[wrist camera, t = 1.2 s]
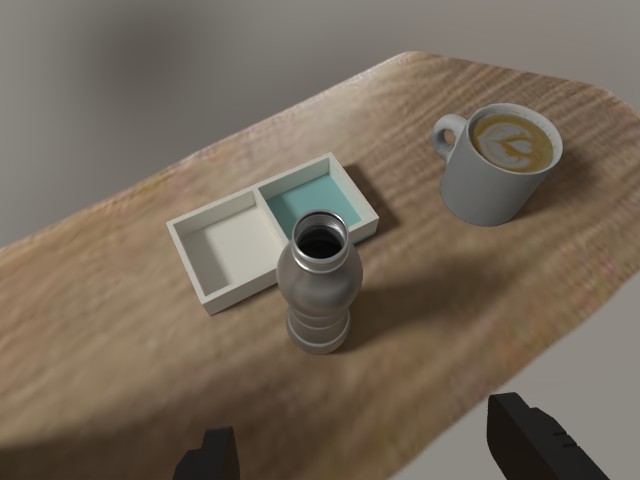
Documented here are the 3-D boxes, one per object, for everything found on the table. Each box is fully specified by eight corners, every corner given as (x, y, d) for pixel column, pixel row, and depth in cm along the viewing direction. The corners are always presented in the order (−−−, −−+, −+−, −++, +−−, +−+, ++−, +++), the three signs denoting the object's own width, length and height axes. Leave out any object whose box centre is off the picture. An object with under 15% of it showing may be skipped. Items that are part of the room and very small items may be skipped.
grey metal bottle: (348, 297, 44) (370, 189, 26) (349, 361, 41) (376, 285, 23) (288, 296, 44) (271, 188, 26) (285, 360, 41) (264, 284, 23)
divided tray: (210, 316, 43) (201, 304, 40) (175, 238, 47) (165, 222, 44) (375, 233, 48) (379, 217, 45) (330, 170, 52) (330, 151, 49)
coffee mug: (536, 200, 50) (583, 145, 42) (481, 241, 48) (519, 191, 39) (459, 134, 56) (486, 73, 47) (405, 167, 53) (423, 109, 44)
